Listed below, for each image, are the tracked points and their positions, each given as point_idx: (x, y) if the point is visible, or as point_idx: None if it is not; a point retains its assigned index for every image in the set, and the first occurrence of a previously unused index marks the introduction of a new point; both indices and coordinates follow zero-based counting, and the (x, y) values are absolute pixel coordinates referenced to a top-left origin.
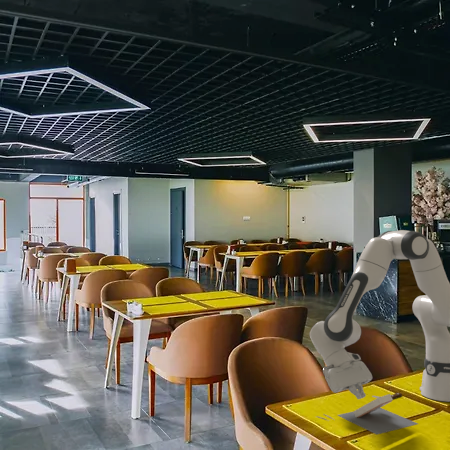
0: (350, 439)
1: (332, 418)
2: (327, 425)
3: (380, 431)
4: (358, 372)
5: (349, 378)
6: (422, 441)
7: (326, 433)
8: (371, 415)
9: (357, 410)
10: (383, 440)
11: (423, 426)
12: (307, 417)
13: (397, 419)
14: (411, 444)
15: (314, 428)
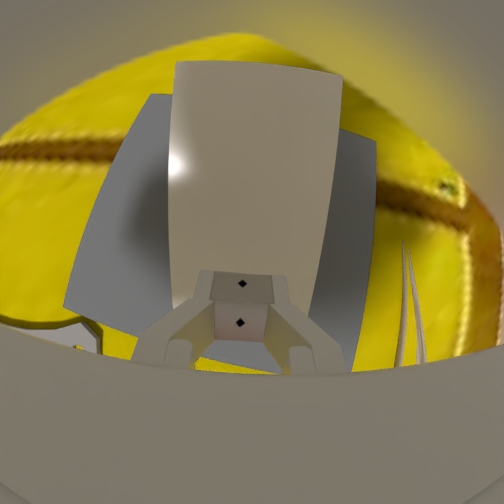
0: (451, 202)
1: (401, 361)
2: (438, 336)
3: (344, 140)
4: (10, 467)
5: (381, 459)
6: (272, 57)
7: (477, 285)
8: None
9: (312, 284)
10: (372, 124)
11: (143, 92)
12: None
13: (158, 151)
14: (319, 69)
15: (477, 340)
